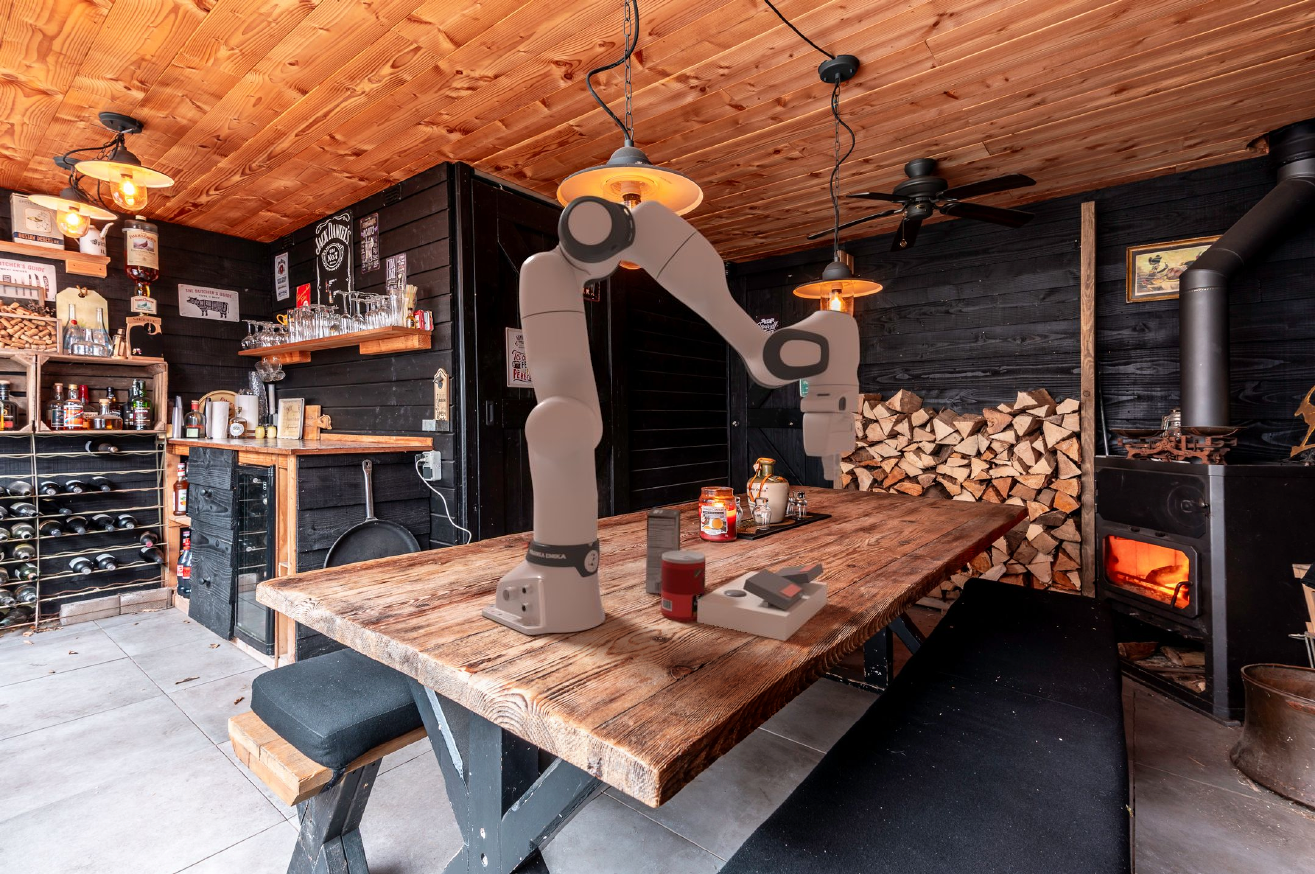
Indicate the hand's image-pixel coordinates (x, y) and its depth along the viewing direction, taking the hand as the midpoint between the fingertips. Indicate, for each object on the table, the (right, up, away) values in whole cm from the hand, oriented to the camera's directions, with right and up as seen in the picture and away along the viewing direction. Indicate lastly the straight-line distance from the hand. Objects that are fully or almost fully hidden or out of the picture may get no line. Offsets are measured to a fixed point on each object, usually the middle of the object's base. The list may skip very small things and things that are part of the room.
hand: (831, 479), depth 109 cm
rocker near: (-11, -19, -3) cm, 22 cm away
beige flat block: (-11, -25, +3) cm, 27 cm away
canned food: (-27, -25, +1) cm, 37 cm away
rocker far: (-5, -19, +6) cm, 20 cm away
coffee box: (-30, -24, +18) cm, 43 cm away
